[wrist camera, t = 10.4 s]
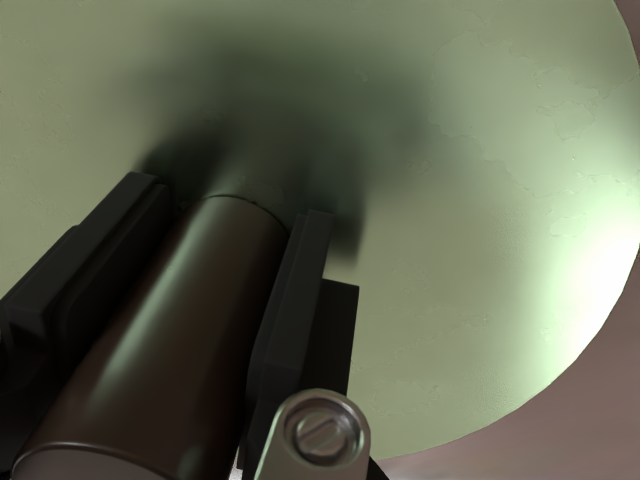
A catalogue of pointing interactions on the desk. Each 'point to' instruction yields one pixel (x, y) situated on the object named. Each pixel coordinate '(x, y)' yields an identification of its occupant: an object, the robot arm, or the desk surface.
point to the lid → (322, 204)
